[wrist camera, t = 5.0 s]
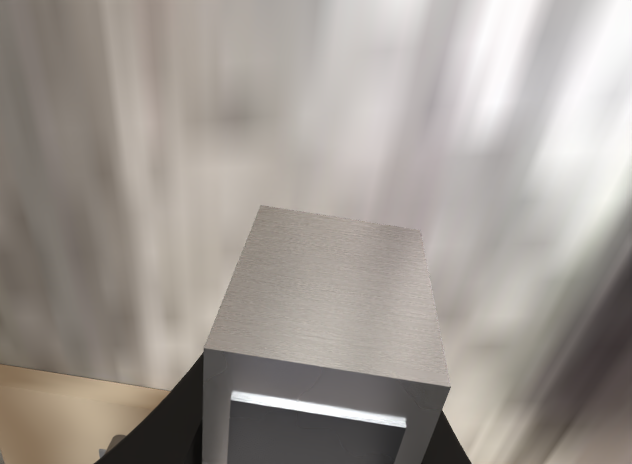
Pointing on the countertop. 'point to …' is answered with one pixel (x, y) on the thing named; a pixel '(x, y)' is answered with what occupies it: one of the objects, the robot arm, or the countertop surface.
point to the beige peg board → (66, 416)
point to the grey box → (324, 347)
